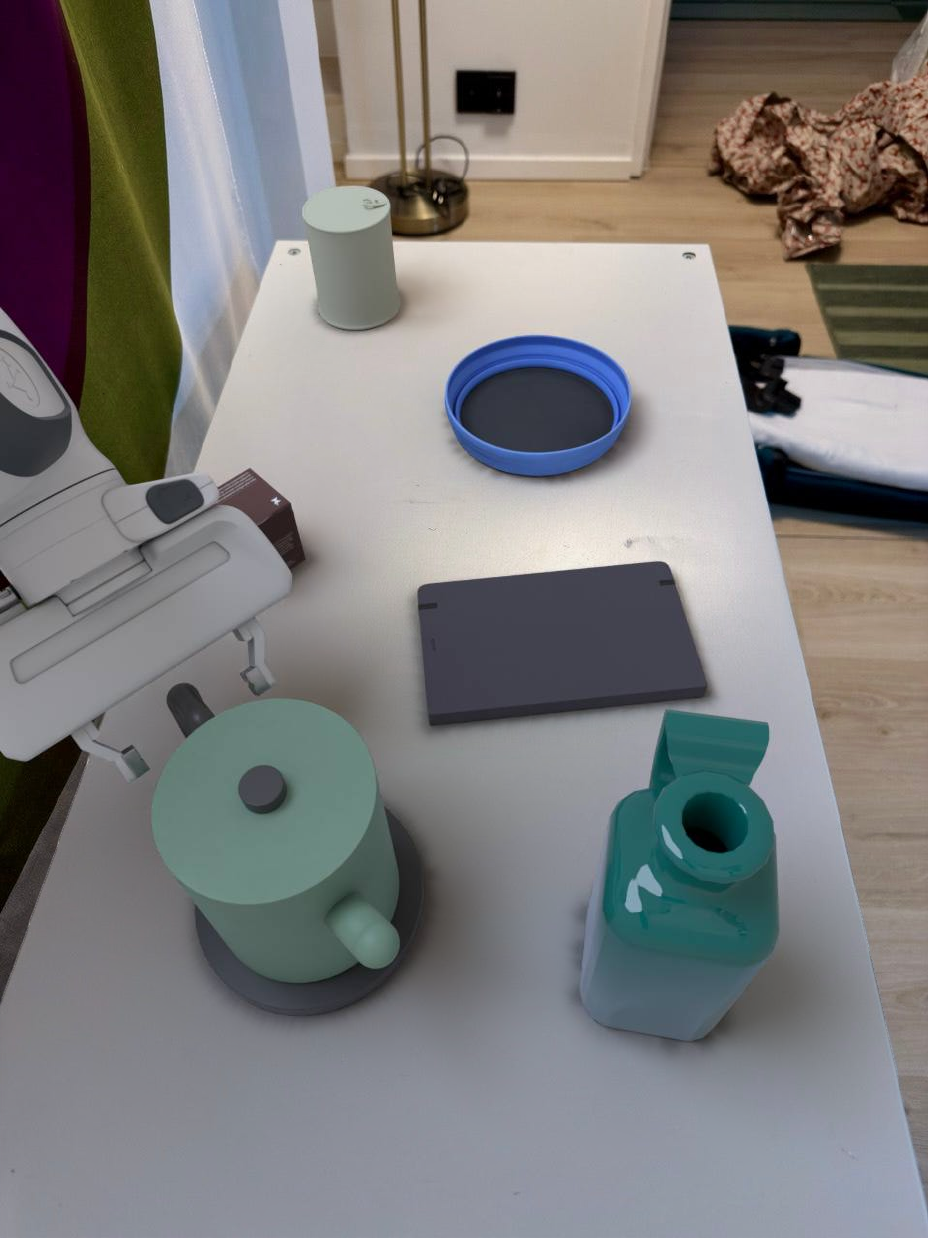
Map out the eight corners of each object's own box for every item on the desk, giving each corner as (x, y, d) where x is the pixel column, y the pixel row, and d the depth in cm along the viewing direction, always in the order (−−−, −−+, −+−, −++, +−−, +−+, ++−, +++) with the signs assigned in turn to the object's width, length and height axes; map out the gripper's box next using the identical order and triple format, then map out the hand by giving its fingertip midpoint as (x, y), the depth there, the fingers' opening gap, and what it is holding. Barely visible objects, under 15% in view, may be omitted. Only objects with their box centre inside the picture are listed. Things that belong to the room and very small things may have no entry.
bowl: (655, 461, 85) (661, 433, 82) (471, 499, 83) (470, 470, 80) (592, 349, 95) (595, 320, 93) (427, 379, 93) (425, 350, 90)
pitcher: (716, 1048, 54) (821, 929, 37) (576, 1023, 55) (612, 895, 38) (717, 891, 60) (808, 723, 42) (590, 871, 61) (628, 699, 43)
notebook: (429, 725, 68) (704, 696, 69) (427, 714, 67) (708, 685, 68) (417, 596, 76) (665, 571, 77) (416, 584, 75) (668, 559, 75)
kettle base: (201, 1038, 55) (195, 1033, 54) (199, 816, 64) (194, 807, 63) (441, 989, 57) (440, 983, 55) (406, 778, 66) (404, 769, 64)
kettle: (482, 950, 56) (479, 857, 44) (327, 1089, 52) (276, 1028, 40) (290, 727, 66) (245, 602, 55) (146, 827, 62) (63, 715, 50)
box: (268, 524, 81) (251, 465, 75) (308, 561, 79) (293, 502, 73) (212, 560, 79) (189, 501, 73) (251, 599, 76) (230, 541, 70)
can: (406, 323, 99) (397, 219, 90) (324, 336, 98) (305, 232, 89) (392, 277, 105) (382, 175, 95) (314, 289, 104) (295, 186, 94)
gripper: (-96, 641, 48) (57, 843, 51) (230, 460, 56) (345, 646, 59) (-83, 639, 54) (54, 822, 57) (211, 476, 61) (317, 645, 65)
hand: (204, 731), depth 58 cm, fingers open, 8 cm apart
